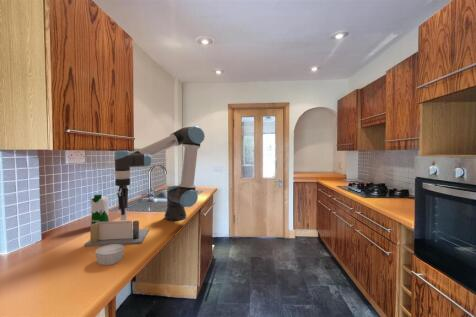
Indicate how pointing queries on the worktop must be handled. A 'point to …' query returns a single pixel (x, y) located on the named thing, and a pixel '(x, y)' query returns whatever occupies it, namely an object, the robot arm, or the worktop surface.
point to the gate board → (121, 240)
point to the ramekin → (109, 254)
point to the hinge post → (135, 229)
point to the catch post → (94, 233)
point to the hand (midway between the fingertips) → (123, 219)
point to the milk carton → (99, 209)
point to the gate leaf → (115, 230)
